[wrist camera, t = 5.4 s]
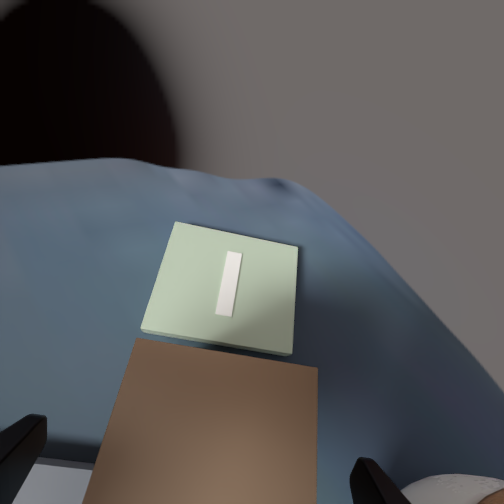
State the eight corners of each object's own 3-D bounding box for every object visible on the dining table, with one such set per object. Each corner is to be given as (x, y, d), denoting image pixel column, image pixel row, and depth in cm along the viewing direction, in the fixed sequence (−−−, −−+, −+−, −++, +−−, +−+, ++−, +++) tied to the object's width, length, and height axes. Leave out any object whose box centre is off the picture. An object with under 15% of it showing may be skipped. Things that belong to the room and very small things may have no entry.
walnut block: (243, 463, 14) (315, 573, 6) (148, 451, 14) (66, 551, 5) (252, 381, 16) (318, 367, 8) (169, 368, 16) (136, 337, 7)
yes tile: (286, 356, 17) (292, 353, 16) (143, 332, 16) (139, 328, 15) (292, 254, 21) (298, 246, 20) (176, 230, 20) (175, 220, 19)
